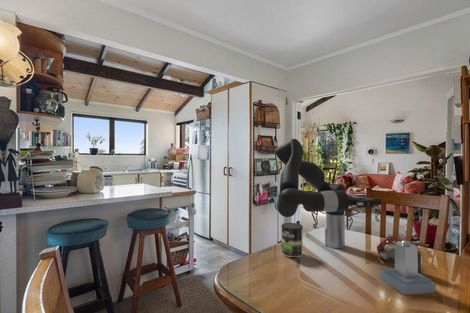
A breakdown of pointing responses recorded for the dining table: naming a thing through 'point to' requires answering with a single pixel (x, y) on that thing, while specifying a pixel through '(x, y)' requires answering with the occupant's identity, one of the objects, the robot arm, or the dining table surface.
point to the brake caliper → (387, 250)
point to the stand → (407, 283)
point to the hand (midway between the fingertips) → (372, 199)
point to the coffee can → (292, 239)
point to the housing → (406, 259)
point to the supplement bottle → (418, 259)
